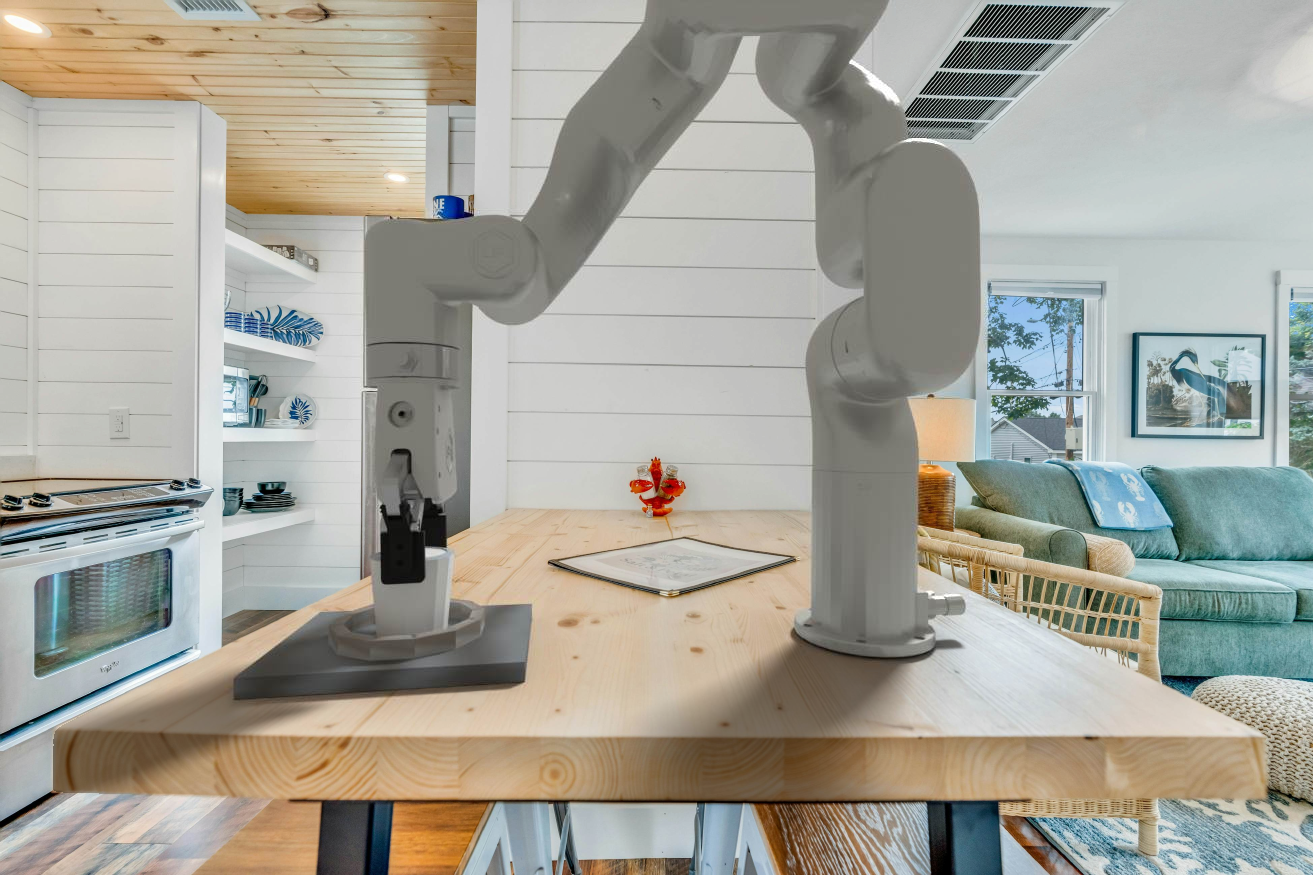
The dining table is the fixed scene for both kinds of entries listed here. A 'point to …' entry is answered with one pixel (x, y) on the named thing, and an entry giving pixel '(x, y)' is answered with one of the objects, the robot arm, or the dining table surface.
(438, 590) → the white cup
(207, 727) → the dining table surface
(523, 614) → the ring board
